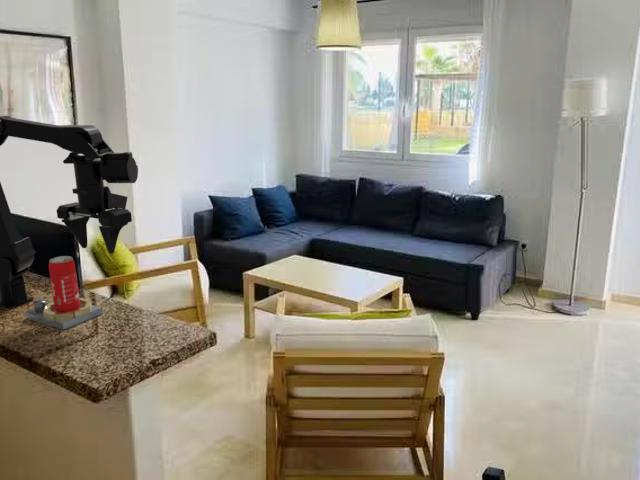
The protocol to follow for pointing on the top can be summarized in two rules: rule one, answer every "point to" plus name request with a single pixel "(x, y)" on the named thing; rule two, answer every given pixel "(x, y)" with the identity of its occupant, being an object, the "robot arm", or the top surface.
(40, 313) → the grey plate with ring
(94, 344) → the top surface
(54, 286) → the beverage can
